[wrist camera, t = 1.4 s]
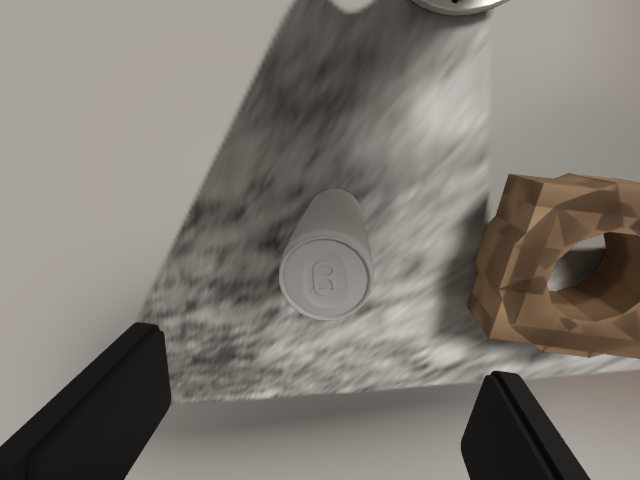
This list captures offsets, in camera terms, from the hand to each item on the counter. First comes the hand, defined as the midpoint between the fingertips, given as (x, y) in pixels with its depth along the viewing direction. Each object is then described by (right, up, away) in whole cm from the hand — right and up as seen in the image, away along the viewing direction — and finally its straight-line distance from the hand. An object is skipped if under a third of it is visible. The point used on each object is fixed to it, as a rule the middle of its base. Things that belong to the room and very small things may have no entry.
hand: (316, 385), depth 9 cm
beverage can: (+1, +6, +17) cm, 18 cm away
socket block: (+20, +3, +17) cm, 26 cm away
